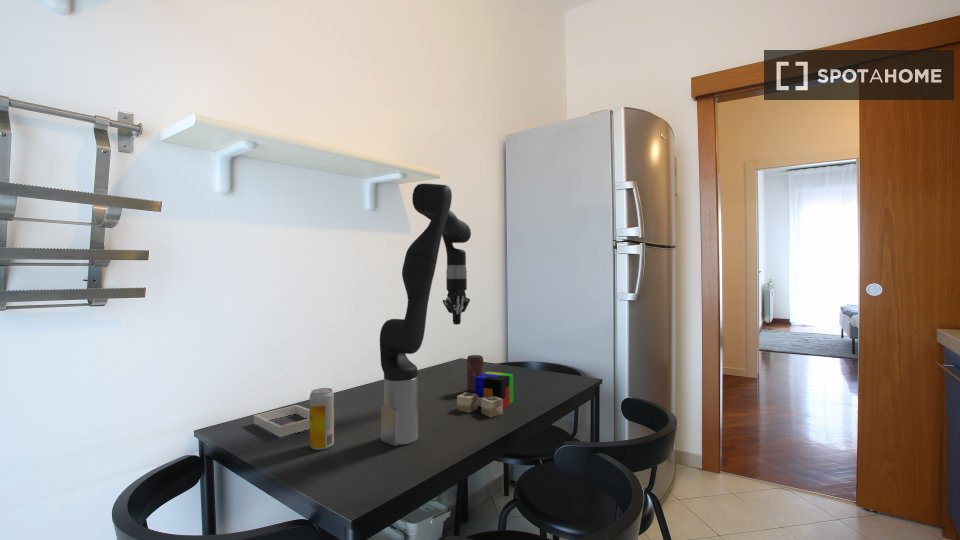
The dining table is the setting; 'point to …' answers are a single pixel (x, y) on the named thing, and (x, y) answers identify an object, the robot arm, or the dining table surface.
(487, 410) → the marked block
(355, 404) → the dining table surface
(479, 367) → the can
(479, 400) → the puzzle toy
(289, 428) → the dish rim
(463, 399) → the marked block
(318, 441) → the beer can
